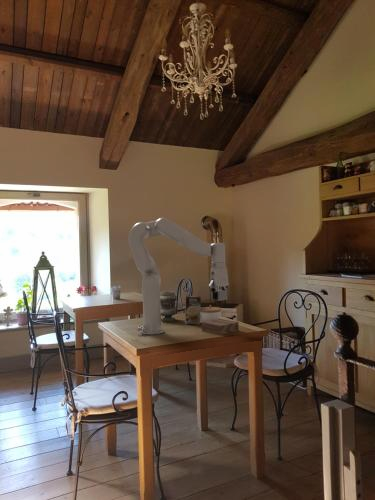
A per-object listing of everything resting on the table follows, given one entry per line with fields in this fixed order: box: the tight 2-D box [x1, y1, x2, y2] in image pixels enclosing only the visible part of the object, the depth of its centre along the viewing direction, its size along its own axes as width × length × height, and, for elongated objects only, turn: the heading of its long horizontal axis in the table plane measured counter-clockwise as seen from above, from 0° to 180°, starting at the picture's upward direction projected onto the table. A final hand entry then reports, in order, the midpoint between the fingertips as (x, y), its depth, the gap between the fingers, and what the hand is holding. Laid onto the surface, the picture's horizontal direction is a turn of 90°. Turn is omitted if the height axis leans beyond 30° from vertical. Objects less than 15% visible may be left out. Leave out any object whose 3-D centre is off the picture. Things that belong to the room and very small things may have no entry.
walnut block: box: [201, 318, 240, 336], centre depth 209 cm, size 14×14×5 cm
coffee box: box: [184, 295, 202, 325], centre depth 230 cm, size 9×6×16 cm
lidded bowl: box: [200, 304, 222, 323], centre depth 227 cm, size 13×13×11 cm
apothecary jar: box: [160, 290, 178, 322], centre depth 242 cm, size 12×12×18 cm
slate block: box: [210, 289, 228, 302], centre depth 208 cm, size 6×6×5 cm
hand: (219, 298), depth 209 cm, fingers closed on slate block, 6 cm apart
